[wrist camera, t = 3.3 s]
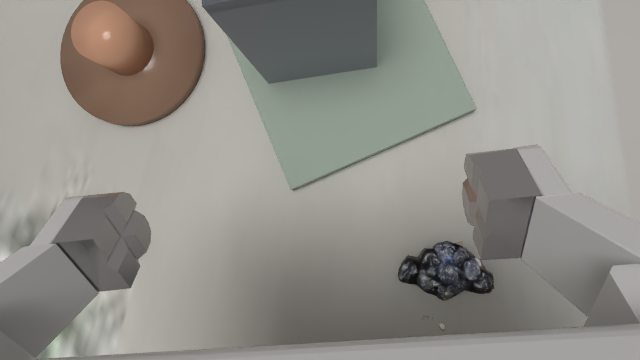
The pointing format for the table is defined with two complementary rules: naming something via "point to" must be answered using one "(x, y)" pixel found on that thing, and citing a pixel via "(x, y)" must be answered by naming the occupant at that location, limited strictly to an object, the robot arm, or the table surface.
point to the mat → (363, 98)
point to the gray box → (300, 35)
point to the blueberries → (446, 272)
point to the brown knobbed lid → (132, 58)
